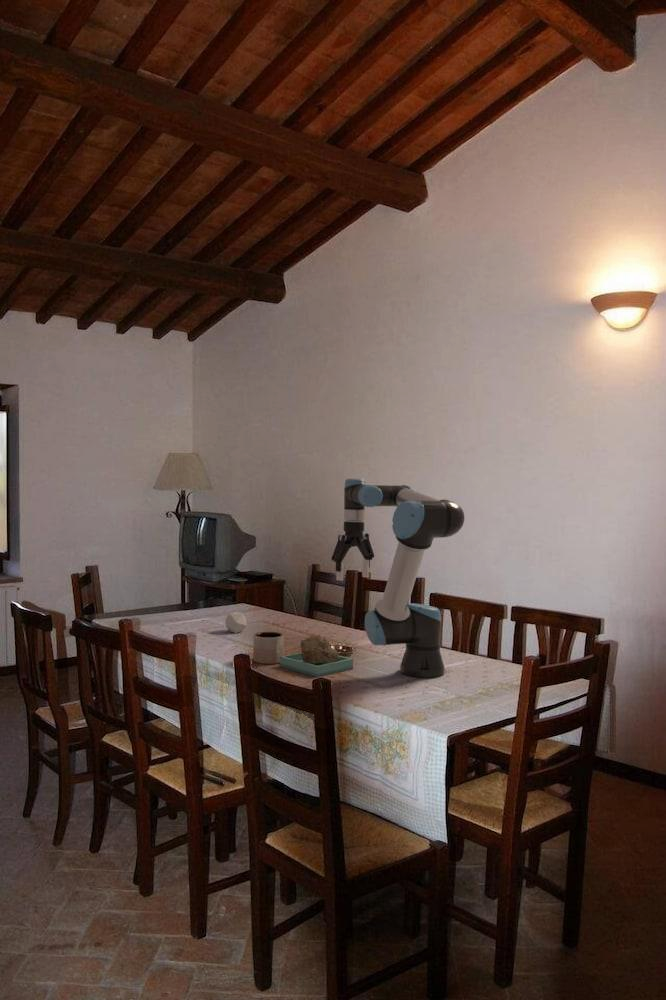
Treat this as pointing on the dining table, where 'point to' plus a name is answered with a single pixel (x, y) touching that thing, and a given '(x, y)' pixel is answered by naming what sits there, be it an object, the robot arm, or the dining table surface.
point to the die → (235, 622)
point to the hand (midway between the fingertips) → (352, 578)
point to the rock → (318, 651)
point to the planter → (268, 647)
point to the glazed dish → (298, 665)
